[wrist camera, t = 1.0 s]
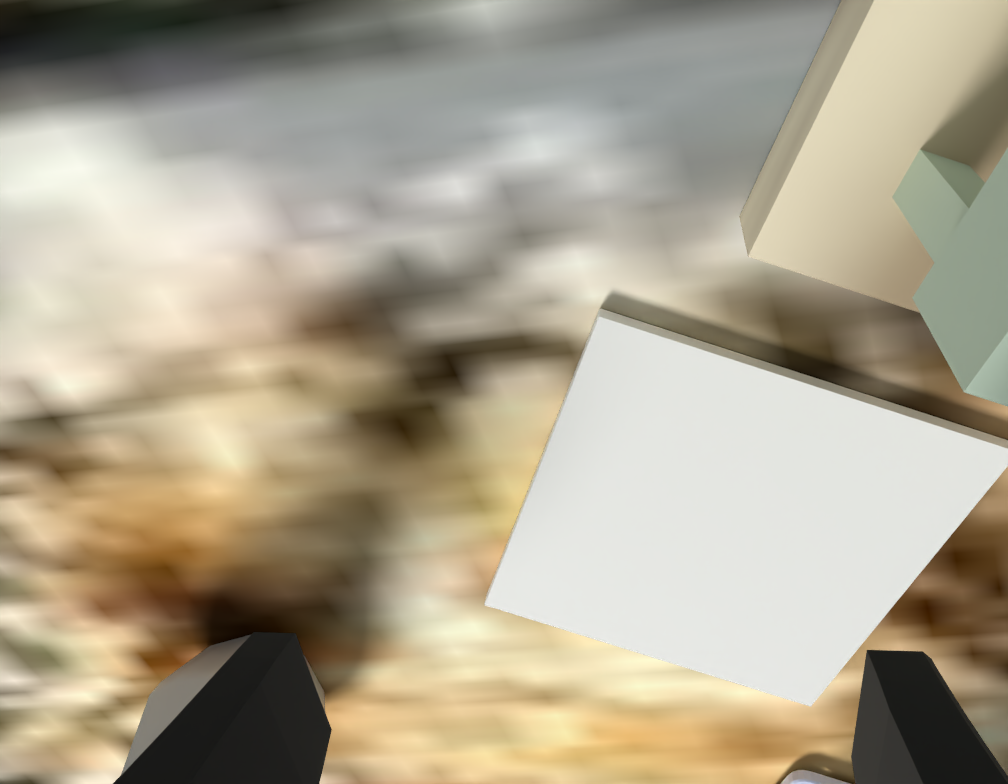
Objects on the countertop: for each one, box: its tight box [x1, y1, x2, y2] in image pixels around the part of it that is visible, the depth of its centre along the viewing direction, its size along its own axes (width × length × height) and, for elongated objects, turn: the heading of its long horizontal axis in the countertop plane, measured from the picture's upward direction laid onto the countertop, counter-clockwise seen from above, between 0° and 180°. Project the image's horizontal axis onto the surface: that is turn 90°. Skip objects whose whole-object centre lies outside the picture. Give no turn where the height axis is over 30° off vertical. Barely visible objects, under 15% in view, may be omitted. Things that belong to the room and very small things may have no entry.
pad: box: [484, 308, 1008, 706], centre depth 22 cm, size 10×10×1 cm
